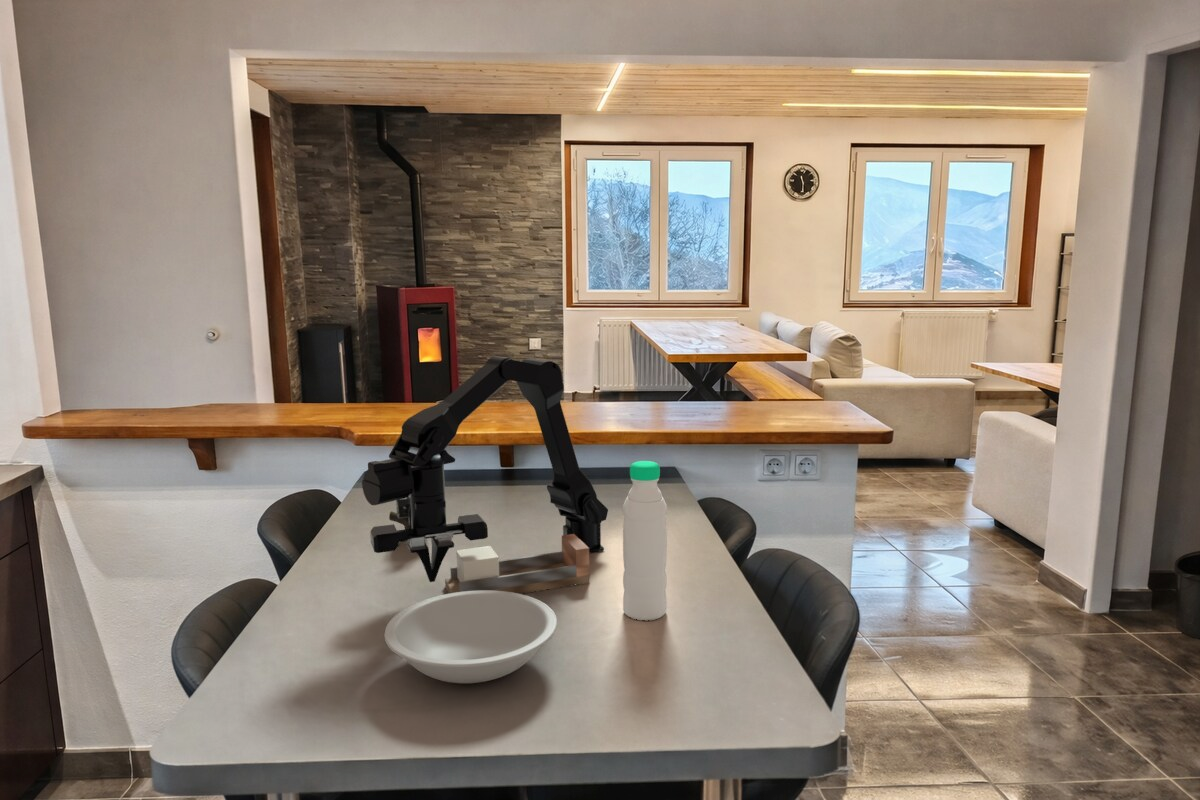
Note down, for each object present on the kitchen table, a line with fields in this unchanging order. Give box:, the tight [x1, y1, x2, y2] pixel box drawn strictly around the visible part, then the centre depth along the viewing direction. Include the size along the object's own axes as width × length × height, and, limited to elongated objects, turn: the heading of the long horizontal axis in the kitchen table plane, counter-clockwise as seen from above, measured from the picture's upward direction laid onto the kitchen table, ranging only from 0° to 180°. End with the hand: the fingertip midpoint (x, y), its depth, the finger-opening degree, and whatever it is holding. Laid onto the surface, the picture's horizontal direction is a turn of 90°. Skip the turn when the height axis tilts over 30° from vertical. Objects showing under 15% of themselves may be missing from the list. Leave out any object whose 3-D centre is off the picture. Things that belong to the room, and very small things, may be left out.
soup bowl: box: [384, 590, 558, 684], centre depth 121 cm, size 24×24×7 cm
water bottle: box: [622, 460, 668, 622], centre depth 136 cm, size 7×7×25 cm
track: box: [444, 534, 591, 595], centre depth 150 cm, size 24×8×6 cm, turn 111°
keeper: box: [456, 545, 500, 582], centre depth 147 cm, size 6×6×5 cm
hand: (431, 581), depth 145 cm, fingers closed
